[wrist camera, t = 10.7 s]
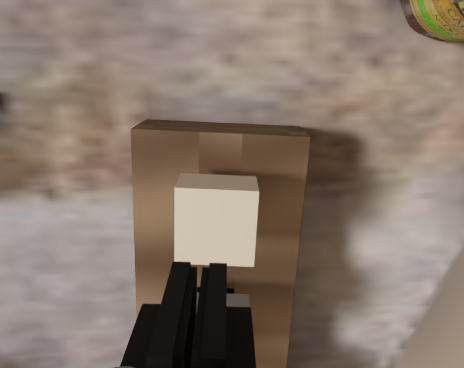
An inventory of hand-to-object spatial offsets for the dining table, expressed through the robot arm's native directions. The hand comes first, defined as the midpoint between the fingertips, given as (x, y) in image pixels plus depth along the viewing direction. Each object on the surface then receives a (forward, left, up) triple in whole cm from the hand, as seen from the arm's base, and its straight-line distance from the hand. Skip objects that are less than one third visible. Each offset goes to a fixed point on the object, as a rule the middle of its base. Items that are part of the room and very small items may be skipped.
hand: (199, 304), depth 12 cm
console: (+11, 0, -15) cm, 19 cm away
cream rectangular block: (+1, 0, -13) cm, 13 cm away
